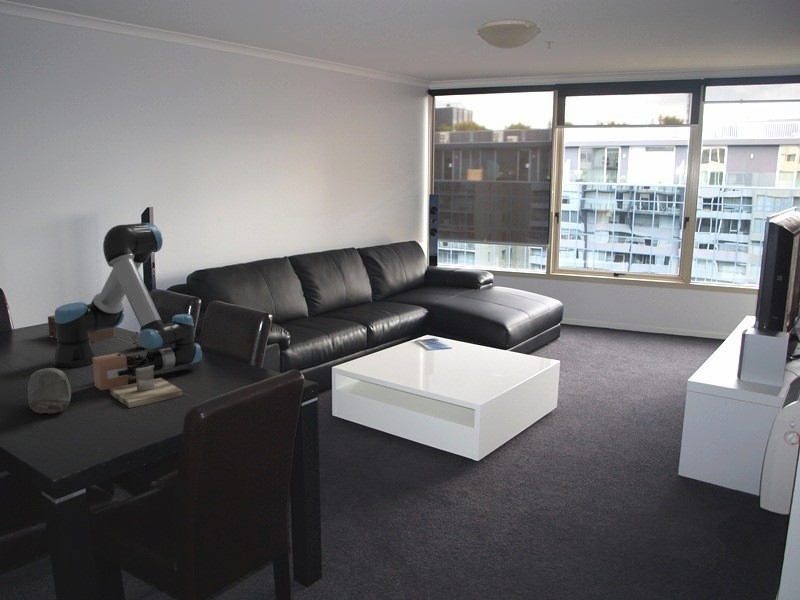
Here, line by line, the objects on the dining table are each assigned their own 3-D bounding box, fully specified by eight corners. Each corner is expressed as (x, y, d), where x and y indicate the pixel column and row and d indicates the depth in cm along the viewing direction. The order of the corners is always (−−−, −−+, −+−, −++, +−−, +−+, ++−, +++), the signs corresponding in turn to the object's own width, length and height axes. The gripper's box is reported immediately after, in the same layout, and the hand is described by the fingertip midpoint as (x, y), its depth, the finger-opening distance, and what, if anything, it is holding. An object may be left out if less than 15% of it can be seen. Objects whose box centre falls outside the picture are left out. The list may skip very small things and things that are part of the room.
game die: (148, 356, 286) (161, 338, 284) (132, 353, 278) (145, 335, 277) (140, 342, 290) (152, 325, 288) (124, 340, 283) (136, 322, 281)
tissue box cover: (49, 337, 301) (47, 316, 299) (78, 331, 313) (76, 311, 312) (85, 345, 289) (83, 323, 287) (113, 338, 301) (112, 317, 299)
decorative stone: (72, 398, 222) (68, 355, 219) (72, 415, 206) (67, 369, 203) (32, 403, 216) (27, 359, 213) (28, 421, 201) (23, 374, 198)
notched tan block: (94, 385, 234) (92, 355, 232) (121, 380, 241) (119, 351, 238) (101, 390, 229) (98, 359, 227) (128, 384, 236) (126, 355, 233)
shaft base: (110, 393, 226) (107, 367, 224) (161, 383, 238) (159, 357, 236) (129, 408, 213) (127, 380, 211) (182, 395, 225) (180, 369, 223)
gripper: (174, 376, 237) (114, 389, 223) (147, 361, 255) (90, 372, 241) (173, 356, 236) (112, 368, 222) (146, 343, 254) (88, 352, 240)
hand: (100, 370), depth 232 cm, fingers open, 13 cm apart
